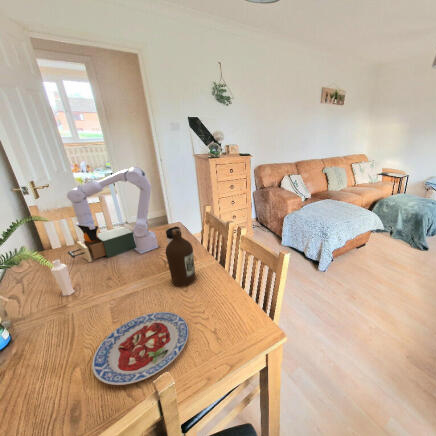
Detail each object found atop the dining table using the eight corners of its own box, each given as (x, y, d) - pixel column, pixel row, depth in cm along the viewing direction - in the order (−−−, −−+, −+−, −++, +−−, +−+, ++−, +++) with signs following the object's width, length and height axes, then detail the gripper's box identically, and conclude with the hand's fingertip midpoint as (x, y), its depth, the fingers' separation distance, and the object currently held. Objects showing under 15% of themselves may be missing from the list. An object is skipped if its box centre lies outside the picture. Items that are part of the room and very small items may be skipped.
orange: (96, 237, 122) (93, 228, 120) (100, 240, 119) (97, 231, 117) (83, 241, 118) (80, 231, 116) (87, 244, 115) (84, 235, 113)
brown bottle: (166, 286, 103) (155, 234, 93) (179, 272, 112) (171, 224, 103) (189, 288, 102) (181, 236, 92) (200, 274, 112) (194, 225, 102)
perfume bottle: (58, 294, 96) (45, 262, 90) (72, 287, 99) (60, 257, 94) (64, 298, 94) (50, 266, 88) (77, 291, 98) (65, 260, 92)
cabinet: (107, 257, 121) (103, 241, 117) (98, 250, 127) (93, 234, 123) (136, 247, 131) (132, 231, 128) (126, 241, 137) (122, 226, 134)
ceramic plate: (88, 345, 76) (85, 338, 74) (172, 305, 92) (171, 299, 91) (103, 412, 59) (99, 404, 58) (202, 349, 76) (201, 342, 75)
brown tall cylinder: (188, 262, 120) (183, 226, 112) (181, 270, 114) (175, 232, 106) (176, 261, 120) (170, 225, 113) (169, 269, 114) (162, 231, 107)
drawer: (76, 266, 111) (71, 252, 108) (68, 259, 117) (63, 245, 114) (118, 251, 125) (114, 238, 122) (109, 245, 130) (106, 233, 127)
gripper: (67, 211, 113) (76, 237, 119) (78, 219, 106) (87, 246, 111) (85, 207, 119) (93, 232, 124) (97, 214, 111) (104, 240, 117)
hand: (91, 238), depth 118 cm, fingers closed on orange, 5 cm apart
